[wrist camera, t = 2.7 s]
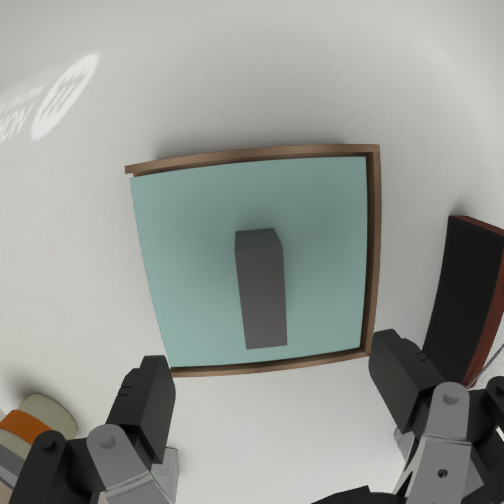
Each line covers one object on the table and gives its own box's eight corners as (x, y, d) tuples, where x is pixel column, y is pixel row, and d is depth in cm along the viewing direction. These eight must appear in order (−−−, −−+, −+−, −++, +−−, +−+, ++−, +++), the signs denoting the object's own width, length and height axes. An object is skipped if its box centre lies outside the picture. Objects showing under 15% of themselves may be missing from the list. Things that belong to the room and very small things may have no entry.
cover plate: (359, 156, 18) (395, 157, 14) (355, 340, 23) (377, 378, 18) (135, 176, 18) (103, 183, 13) (172, 359, 23) (160, 401, 18)
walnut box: (346, 146, 23) (379, 144, 17) (346, 317, 28) (369, 355, 22) (152, 163, 23) (124, 166, 17) (182, 334, 28) (170, 377, 21)
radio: (439, 347, 30) (505, 424, 16) (421, 351, 30) (485, 435, 16) (468, 196, 25) (579, 233, 10) (449, 195, 25) (567, 234, 10)
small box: (138, 441, 33) (123, 500, 23) (177, 448, 34) (168, 509, 24) (145, 466, 35) (133, 518, 25) (179, 473, 36) (172, 526, 26)
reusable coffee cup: (40, 375, 29) (-11, 451, 15) (102, 434, 33) (74, 514, 19) (9, 393, 31) (-31, 453, 17) (62, 444, 34) (35, 507, 20)
